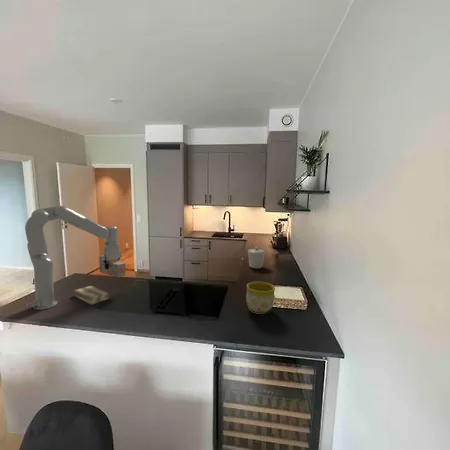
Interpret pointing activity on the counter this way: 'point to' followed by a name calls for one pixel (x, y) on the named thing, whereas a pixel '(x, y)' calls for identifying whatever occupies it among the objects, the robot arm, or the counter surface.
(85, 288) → the birch plinth
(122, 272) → the stack of blocks
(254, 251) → the canister
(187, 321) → the counter surface
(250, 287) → the flowerpot
